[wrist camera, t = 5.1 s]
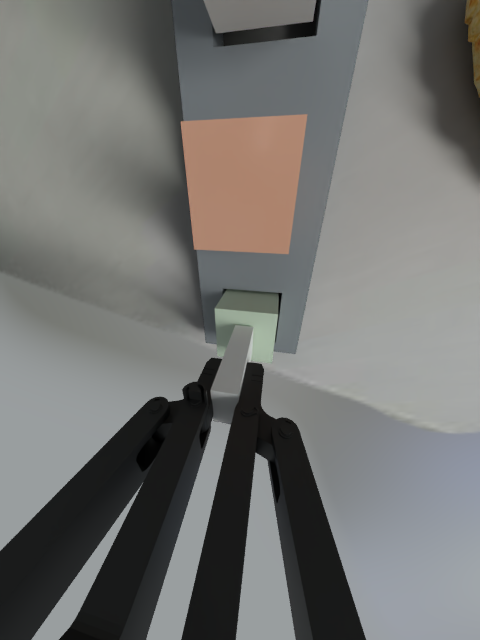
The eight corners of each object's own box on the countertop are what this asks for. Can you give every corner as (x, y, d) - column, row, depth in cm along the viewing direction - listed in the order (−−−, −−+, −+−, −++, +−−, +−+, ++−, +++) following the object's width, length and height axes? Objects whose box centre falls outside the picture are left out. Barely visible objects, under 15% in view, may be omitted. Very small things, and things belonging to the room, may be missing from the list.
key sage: (231, 282, 20) (214, 308, 15) (278, 286, 20) (278, 314, 15) (231, 322, 23) (217, 356, 18) (273, 327, 22) (271, 363, 17)
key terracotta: (219, 154, 13) (180, 121, 8) (296, 152, 12) (307, 114, 7) (222, 235, 16) (194, 249, 10) (286, 237, 15) (288, 254, 10)
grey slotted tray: (178, -125, 10) (149, -216, 8) (394, -181, 8) (432, -313, 6) (212, 330, 24) (205, 342, 22) (294, 340, 23) (295, 354, 21)
